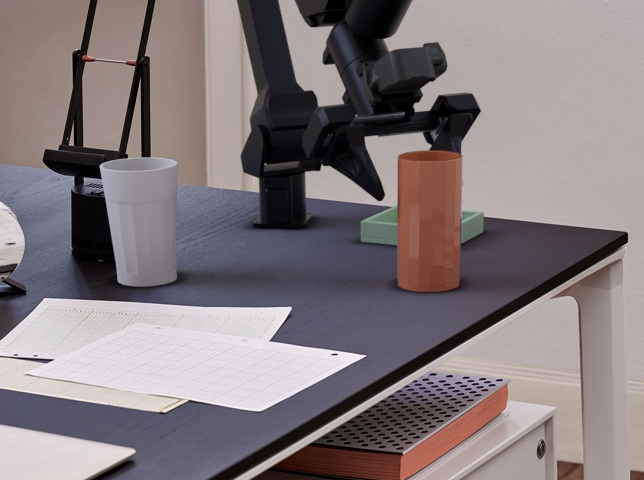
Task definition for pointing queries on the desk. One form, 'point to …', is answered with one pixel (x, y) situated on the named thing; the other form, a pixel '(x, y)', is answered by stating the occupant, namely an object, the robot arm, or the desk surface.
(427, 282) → the tumbler
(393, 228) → the tray
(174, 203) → the cup
